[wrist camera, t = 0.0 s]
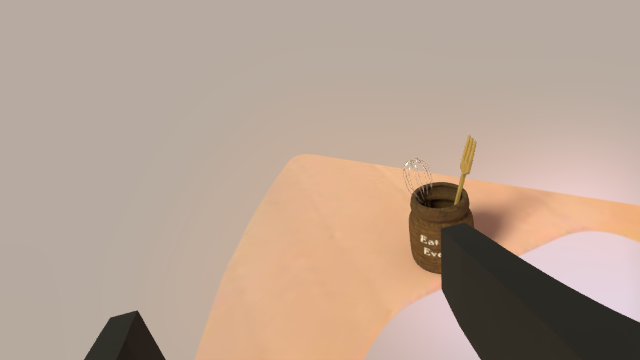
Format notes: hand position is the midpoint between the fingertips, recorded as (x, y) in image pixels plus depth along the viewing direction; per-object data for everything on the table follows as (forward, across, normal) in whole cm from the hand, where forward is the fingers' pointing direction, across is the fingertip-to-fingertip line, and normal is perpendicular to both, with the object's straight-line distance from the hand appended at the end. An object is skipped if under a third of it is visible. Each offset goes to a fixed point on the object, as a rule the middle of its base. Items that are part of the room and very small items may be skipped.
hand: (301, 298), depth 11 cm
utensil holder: (+23, -14, +24) cm, 36 cm away
